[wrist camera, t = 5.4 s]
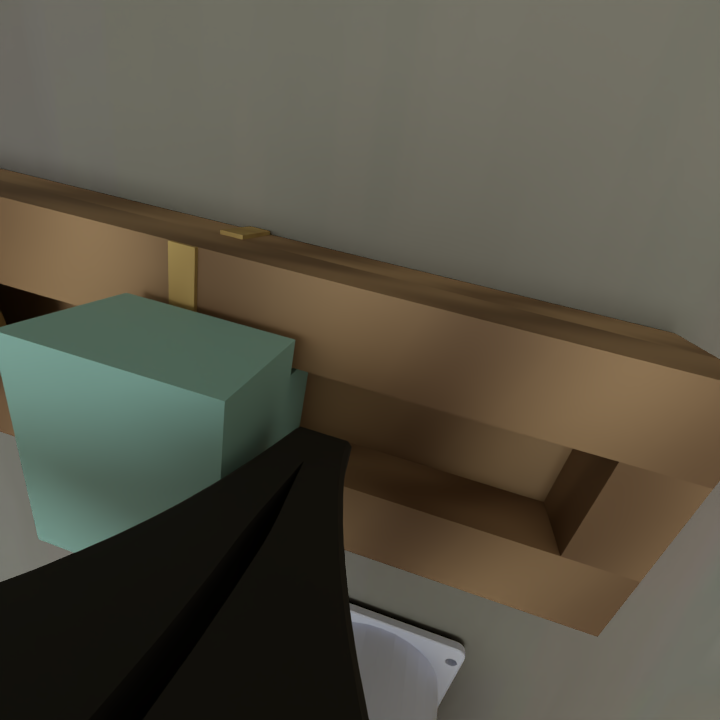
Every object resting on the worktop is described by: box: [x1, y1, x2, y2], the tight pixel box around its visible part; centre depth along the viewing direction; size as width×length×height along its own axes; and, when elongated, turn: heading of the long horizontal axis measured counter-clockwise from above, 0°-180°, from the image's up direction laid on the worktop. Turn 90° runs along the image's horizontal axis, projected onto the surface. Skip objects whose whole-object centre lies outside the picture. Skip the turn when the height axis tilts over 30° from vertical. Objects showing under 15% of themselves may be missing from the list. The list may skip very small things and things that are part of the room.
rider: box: [0, 293, 308, 553], centre depth 10 cm, size 4×5×5 cm
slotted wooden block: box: [0, 169, 720, 637], centre depth 11 cm, size 24×8×6 cm, turn 79°
